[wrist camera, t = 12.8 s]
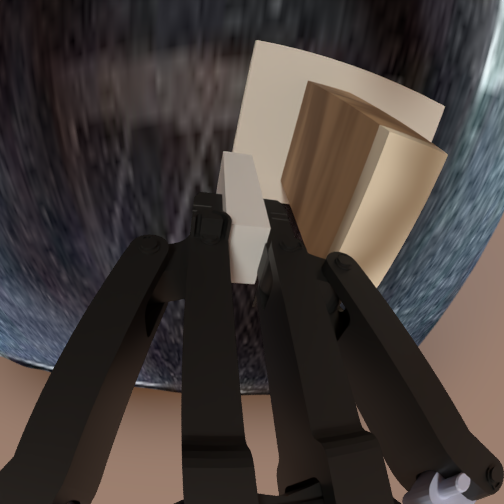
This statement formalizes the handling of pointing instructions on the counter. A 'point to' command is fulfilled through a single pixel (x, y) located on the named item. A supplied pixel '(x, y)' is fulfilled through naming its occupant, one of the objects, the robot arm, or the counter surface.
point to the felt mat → (290, 99)
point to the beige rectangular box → (356, 178)
